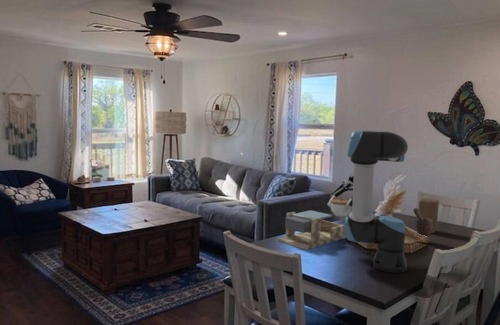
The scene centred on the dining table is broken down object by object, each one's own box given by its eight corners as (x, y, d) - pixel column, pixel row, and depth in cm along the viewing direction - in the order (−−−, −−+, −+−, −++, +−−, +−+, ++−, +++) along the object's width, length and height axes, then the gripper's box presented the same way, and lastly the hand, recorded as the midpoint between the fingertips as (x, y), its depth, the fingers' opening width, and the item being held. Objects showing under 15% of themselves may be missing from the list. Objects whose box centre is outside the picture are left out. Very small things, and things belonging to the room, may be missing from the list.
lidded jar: (333, 212, 222) (334, 195, 221) (353, 214, 217) (354, 197, 216) (327, 215, 213) (328, 198, 212) (347, 218, 208) (348, 200, 207)
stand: (305, 249, 214) (307, 221, 212) (278, 240, 228) (278, 214, 227) (344, 238, 237) (345, 212, 236) (316, 230, 252) (317, 206, 250)
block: (416, 231, 256) (418, 199, 254) (420, 228, 265) (422, 197, 263) (433, 234, 251) (436, 202, 249) (436, 230, 259) (439, 199, 257)
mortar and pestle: (423, 246, 225) (426, 210, 223) (409, 242, 232) (411, 207, 230) (433, 242, 233) (436, 208, 231) (418, 238, 239) (421, 205, 237)
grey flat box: (305, 233, 215) (305, 220, 215) (283, 227, 227) (283, 215, 226) (331, 226, 231) (332, 214, 231) (310, 221, 243) (310, 209, 242)
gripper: (379, 184, 213) (357, 216, 205) (344, 178, 231) (324, 208, 224) (373, 174, 209) (351, 207, 202) (338, 169, 228) (317, 199, 220)
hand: (337, 208), depth 213 cm, fingers closed on lidded jar, 11 cm apart
